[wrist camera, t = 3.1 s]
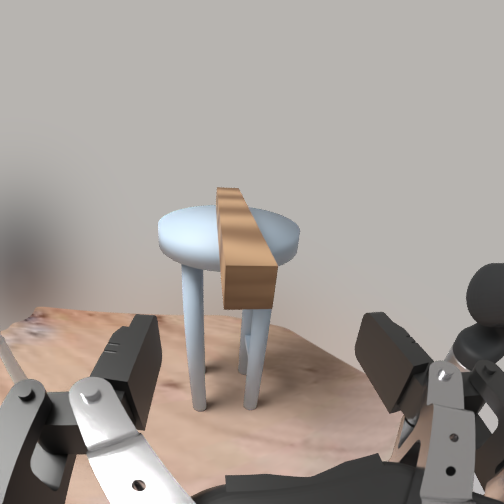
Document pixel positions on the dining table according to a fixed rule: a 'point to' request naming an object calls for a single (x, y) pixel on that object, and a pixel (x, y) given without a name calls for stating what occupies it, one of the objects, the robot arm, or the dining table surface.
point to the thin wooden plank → (243, 255)
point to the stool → (207, 258)
